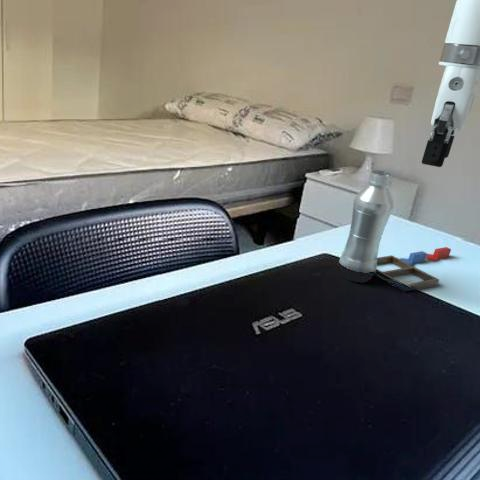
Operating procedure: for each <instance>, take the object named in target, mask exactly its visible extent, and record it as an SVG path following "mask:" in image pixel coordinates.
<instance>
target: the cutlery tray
mask: <svg viewBox="0 0 480 480" xmlns="http://www.w3.org/2000/svg"><path fill="white" fill-rule="evenodd" d="M400 259H401V258H398V257H396V256H394V255H386V256H379V257H377V266H378V265H383V264H389V263H391V264H393V265H395V266H396V267H399V268H397V269H391V270H386V271H381V270H380V269H378V268H376V272H375V273H377V274H379V275H381V276H384V277H386V278H389V279H391V280H395V281H397V282H400V283H402V284H404V285H407V286H410V287H411V288H413V289H415V290H414V291H419V290H423V289H429V288H433V287H438V285H439V282H440V279H439V278H437V277H435V276H433V275H431V274H429V273H427V272H426V271H424V270H421V269H419V268H418V267H415V266H414V265H410V264H408V263H406V262H404V261H402V260H400ZM406 275H414V276H416V277H418V278H420V279H421V281H416V282H411V283H407V284H405V283H404V282H402V281H400V280H398V279H396V277H397V278H398V277H401V276H402V277H403V276H406Z"/></svg>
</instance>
